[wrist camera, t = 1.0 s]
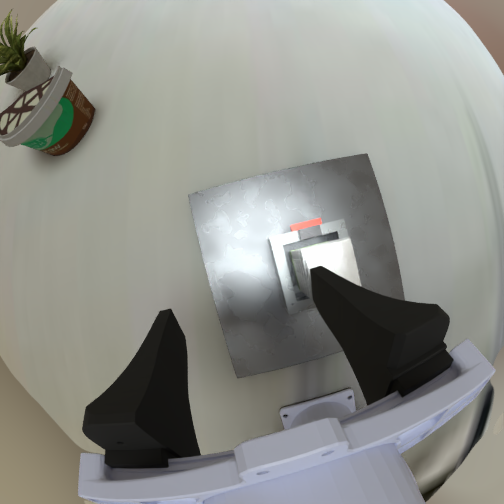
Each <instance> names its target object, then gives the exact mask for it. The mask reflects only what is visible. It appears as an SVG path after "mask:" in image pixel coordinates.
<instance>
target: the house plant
mask: <svg viewBox="0 0 504 504" xmlns="http://www.w3.org/2000/svg"><path fill="white" fill-rule="evenodd" d="M11 11H12V10H11ZM11 11H10V12H9V14H8V16H7V18H6V21H5V20H4V21H5V35H6V37H7V39H8V42H9V44H10V46H11V47H8V46H7V44H6V43H5V40H4V38H3V34H2V25H3V23H2V24H1V27H0V36H1V39H2V41H3V43H4V45H5V46H4V45H3V44H2V43H0V64H3V65H0V75H3V74H6V73H7V75H6V79H5V82H6V84H9V85H12V86H14V87H17V88H19V89H22V90H24V91H28V90H30V89H31V88H33V87H35V86H37V85H39V84H42V83H43V82H45V81H47V80H48V78H49V76H50V74H51V71H50V69H49V67H48V66H47V64H46V63H45V61H44V59H43V58H42V56H41V55H40V53H39V52H38V50H37V49H36V47H30V48H28V49H27V50H26V51H24V43H25V41H26V39H27V37H28V36H27V37H26V35H24V36H23V37H22V38H21V39H20V37H21V34H22V32H23V31H22V32H21V33H20V34H19V35H18V36H17V25H18V23H17V19H16V27H15V30H14V34H13V32H12V18H11V20H10V13H11ZM9 20H10V26H11V33H10V27H9ZM4 21H3V22H4ZM34 29H36V28H34ZM34 29H32V30H31V31H30V33H31V32H32V31H33V30H34ZM30 33H29V34H30ZM29 34H28V35H29ZM25 37H26V39H25ZM1 56H2V57H1ZM8 70H9V71H8ZM1 73H2V74H1Z"/></svg>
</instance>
